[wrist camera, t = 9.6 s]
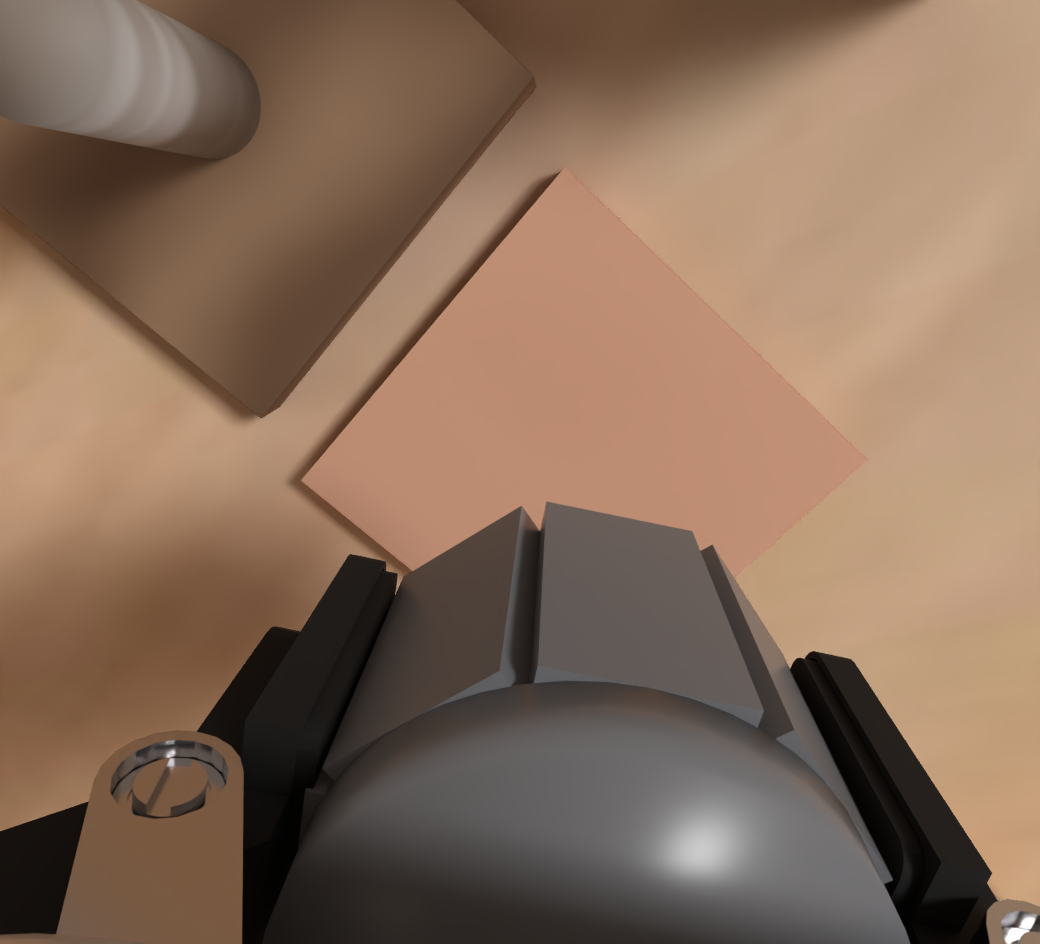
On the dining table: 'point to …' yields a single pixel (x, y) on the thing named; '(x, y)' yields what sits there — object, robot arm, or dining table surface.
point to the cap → (580, 761)
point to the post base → (243, 158)
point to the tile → (581, 405)
